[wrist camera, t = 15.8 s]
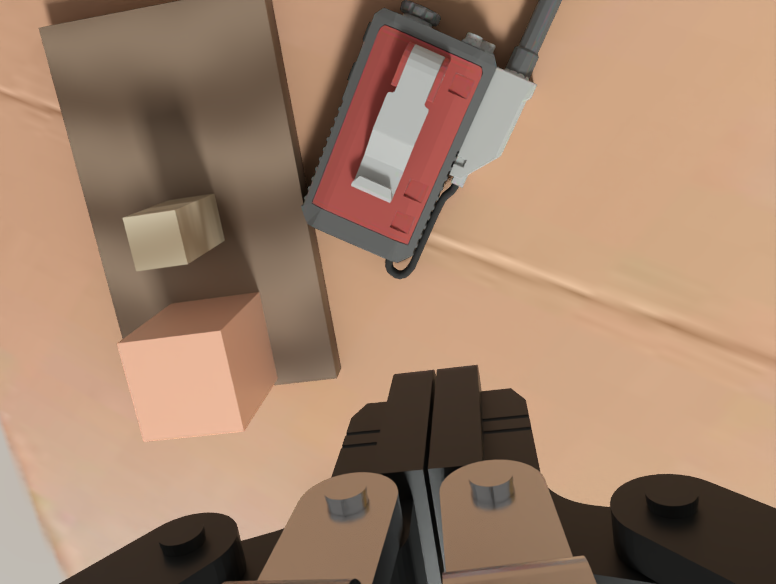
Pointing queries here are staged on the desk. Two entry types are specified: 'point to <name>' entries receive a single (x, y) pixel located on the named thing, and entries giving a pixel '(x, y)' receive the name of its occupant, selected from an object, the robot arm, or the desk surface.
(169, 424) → the peach cube
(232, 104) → the board
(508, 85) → the walkie-talkie
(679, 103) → the desk surface
